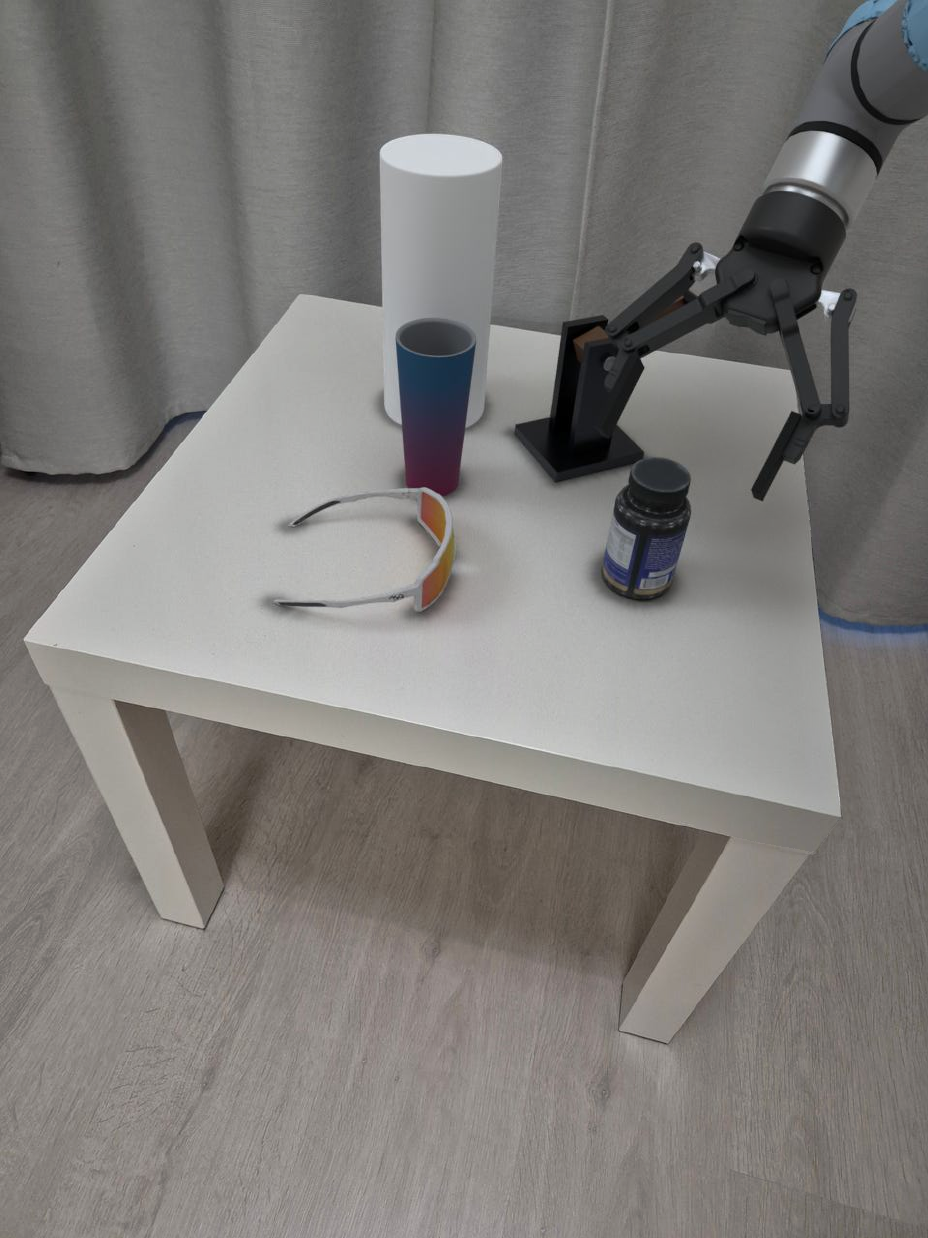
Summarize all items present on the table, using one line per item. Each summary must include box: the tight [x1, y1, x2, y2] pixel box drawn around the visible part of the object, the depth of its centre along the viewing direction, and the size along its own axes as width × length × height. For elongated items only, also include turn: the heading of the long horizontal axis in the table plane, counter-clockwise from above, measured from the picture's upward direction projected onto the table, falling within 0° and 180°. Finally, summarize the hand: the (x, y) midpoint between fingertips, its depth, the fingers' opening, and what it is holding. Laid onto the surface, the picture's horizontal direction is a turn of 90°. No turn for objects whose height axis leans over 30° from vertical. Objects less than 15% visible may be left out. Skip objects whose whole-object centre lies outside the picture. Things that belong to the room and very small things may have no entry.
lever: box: [573, 289, 699, 363], centre depth 82 cm, size 12×6×2 cm, turn 115°
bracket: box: [513, 314, 645, 483], centre depth 85 cm, size 10×9×13 cm
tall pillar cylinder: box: [379, 133, 503, 429], centre depth 85 cm, size 11×11×25 cm
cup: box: [395, 318, 476, 497], centre depth 79 cm, size 7×7×15 cm
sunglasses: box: [273, 487, 458, 613], centre depth 74 cm, size 14×15×5 cm
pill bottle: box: [601, 456, 692, 600], centre depth 72 cm, size 6×6×11 cm
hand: (676, 463), depth 70 cm, fingers open, 13 cm apart
